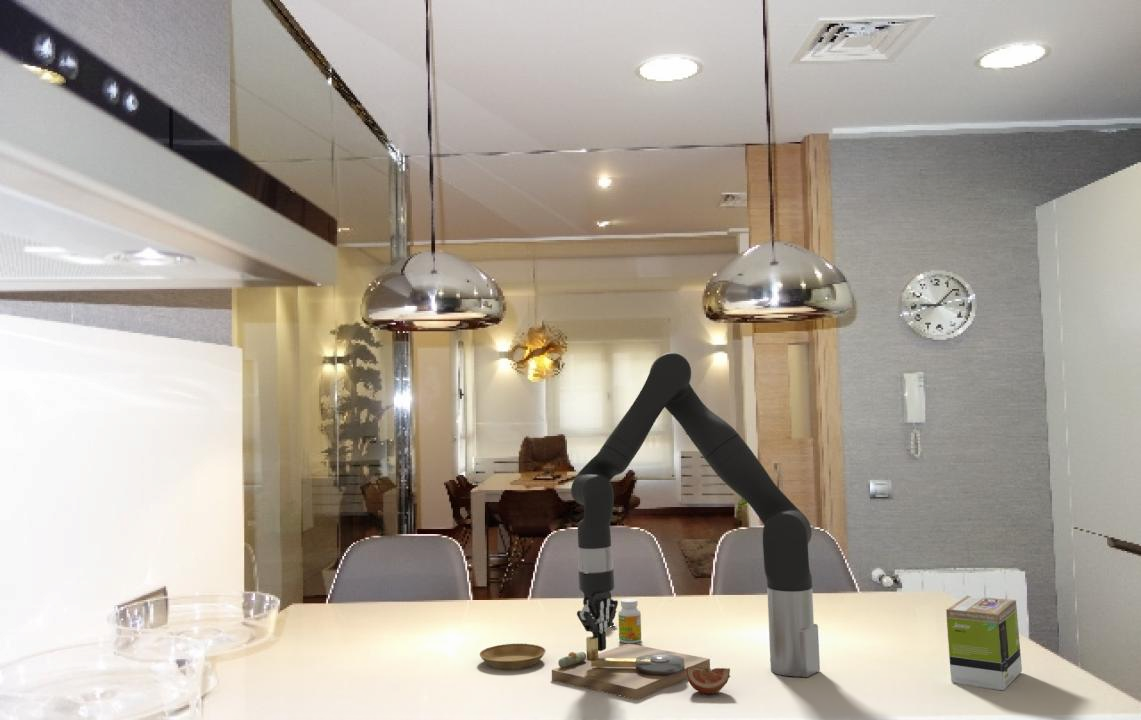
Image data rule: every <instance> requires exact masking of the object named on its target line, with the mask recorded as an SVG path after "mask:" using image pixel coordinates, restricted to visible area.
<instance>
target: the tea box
mask: <svg viewBox="0 0 1141 720" xmlns="http://www.w3.org/2000/svg"><path fill="white" fill-rule="evenodd" d="M945 611H946V627H947V628H946V630H947V641H948V653H949V654H948V655H949V656H948V657H949V669H950V670H949V672H950V681H951V683H953V684H958V685H964V686H968V687H969V686H970V687H976V688H977V687H978V688H983V689H989V690H995V691H1004V690H1005V689H1007V687H1008V686H1009V685H1010V684H1011V683H1012V682H1013V681H1014V680H1015V679H1016V678H1017V677H1018V676H1019V675H1020V674H1021V673H1022V671H1023V666H1022V665H1023V664H1022V655H1021V643H1020V633H1019V620H1018V608H1017V600H1016V599H1006V598H996V597H986V596H985V597H983V596H971V595H966V596H964V597H962V599H960V600H959V601H957V602H956V603H954V604H953V605H951V606H950V607H948V608H947V609H946V610H945Z"/></svg>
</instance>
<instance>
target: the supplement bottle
mask: <svg viewBox="0 0 1141 720" xmlns="http://www.w3.org/2000/svg"><path fill="white" fill-rule="evenodd" d="M638 605H639V604H638V599H636V598H623V599H621V600H620V606H621V608H620V609H619V610H618V638H619V639H618V640H619V642H620V641H621V643H622V642H624V643H623V644H636V643H635V642H638V643H640V642H641V641H642V615H641V610H640V609H639V608H637V607H638ZM639 641H640V642H639Z"/></svg>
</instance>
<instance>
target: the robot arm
mask: <svg viewBox="0 0 1141 720" xmlns="http://www.w3.org/2000/svg"><path fill="white" fill-rule="evenodd" d="M691 379H692V368H691V365H690V363H689V361H688V360H687V359H686V357H684V356H683V355H681V354H679V353H676V352H667V353H664V354H662V355H660V356H658V357H657V358H656V359H655V360H654V362H652V364H651V367H650V370H649V374H648V376H647V378H646V380H645V382H644V384H643V386H642V388H641V390H640V391H639V393H638V395H637V397H636V398H635V400H634V401H633V403H632V404H631V406H630V407H629V409H628V410H627V411H626V413H625V414H624V416H623V417H622V419H621V420H620V421H619V423H618V424H617V425H616V426H615V428H613V430H612V432H611V433H610V434H609V436H608V437H607V439H606V440H605V442H604V443H603V445H602V447H601V448H600V450H599V451H598V453H597V454H596V455H594V456H593V458H591V459H590V460H589V461H588V462H587V463H586V464H585V465H584V466H583V468H581V470H580V471H579V472H578V473H577V474H576V476H575V478H574V479H573V481H572V484H571V488H570V494H571V497H572V499H573V500H574V502H575V503H577V504H579V505H581V506H584V507H583V508H584V509H583V518H582V519H580V521H579V522H578V525H577V544H578V547H577V548H578V552H577V568H578V569H577V571H578V589H579V591H580V592H582V593H583V599H582V600H583V601H582V604H583V607H582V609H581V610H577V611H576V616H577V618H578V620H579V621H580V622H581V625H582V626H583V627H584V630H585V631H586V632H590V633H592V637H598V652H602V651H603V652H604V650H605V651H606V649H607V637H606V635H607V634H606V632H607V631H608V628H607V627H608V626H609V627H610V626H611V625H612V622H613V621H614V619H615V618H614V615H615V616H616V613H617V612H616V611H617V608H618V604H619V600H616V599H613V598H612V597H611V596H612V593H611V591H613V590H614V589H615V573H614V572H615V571H614V556H613V555H614V554H613V549H612V540H611V538H612V536H611V522H612V517H613V512H614V511H613V510H614V502H615V494H614V493H615V492H614V488H613V484H612V482H611V480H612V479H613V478H614V477H615V476H619V475H620V474H623V473H624V472H625V471H626V470H627V468H628V467H629V465H630V464H631V462H632V461H633V459H634V458H635V456H636V455H637V454H638V452H639V451H640V449H641V448H642V446H643V444H644V442H645V440H646V439H647V437H648V435H649V433H650V432H651V430H652V428H653V426H654V424H655V423H656V421H657V419H658V417H659V416H660V414H661V413H662V412H663V410H664V408H665V409H666V410H667V411H668V413H670V415H671V416H672V417H673V418H674V419H675V420H676V421H677V422H678V424H679V425H680V426H681V427H682V429H683V430H684V432H685V434H686V435H687V436H688V438H689V439H690V441H691V442H692V444H694V446H695V447H696V449H697V450H698V451H699V453H700V454H701V455H702V457H703V459H704V460H705V461H706V462H707V464H708V465H709V467H710V468H711V469H712V470H713V472H714V473H715V474H716V475H717V476H718V477H719V479H721V481H722V482H723V483H725V485H727V487H729V489H731V490H733V491H734V492H735V493H736V494H737V495H738V496H740V497H741V498H742V499H743V500H744V501H745V502H747V505H749V506H750V507H751V508H752V510H753V511H754V512H755V514H756V516H758V518H759V519H760V521H761V523H762V524H763V530H762V551H763V567H764V574H765V577H766V584H767V588H766V589H767V591H766V592H767V610H768V611H767V612H768V613H767V614H768V632H769V633H768V634H769V636H768V637H769V639H768V640H769V641H768V642H769V656H770V658H769V661H770V671H771V672H773V674H777V675H781V676H785V677H802V678H803V677H804V678H808V677H810V676H813V675H814V674H817V673H818V672H820V671H821V664H820V661H821V660H820V645H819V644H820V643H819V641H820V640H819V626H818V624H817V623H815V622H814V620H815V619H814V618H815V617H814V600H813V596H814V595H813V576H812V573H811V569H810V563H809V562H810V561H809V560H810V559H809V543H810V541H811V539H812V533H813V532H812V525H811V523H810V521H809V519H808V518H807V516H806V515H804V513H803V512H802V511H801V510H800V509H799V508H798V507H797V506H796V505H795V504H794V503H793V502H792V501H791V500H790V499H789V498H788V496H786V494H784V493H783V491H782V490H781V489H780V488H779V487H778V486H777V485H776V483H775V482H774V481H773V479H772V477H771V476H770V475H769V473H768V472H767V471H766V469H765V467H764V466H763V464H762V463H761V461H759V459H758V458H757V456H756V454H755V453H754V452H753V451H752V449H751V448H750V447H749V446H748V445H749V444H747V443H746V442H745V441H744V439H743V438H742V437H741V435H740V433H738V432H737V430H736V429H735V428H734V427H733V426H732V425H731V424H729V423H728V422H727V421H726V420H724V419H723V418H722V417H720V416H719V415H717V414H715V412H713V411H712V410H711V409H709V408H708V407H707V406H706V404H704V402H703V401H702V400H701V399H700V398H699V395H697V393H696V391H695V390H694V389H693V387H692V385H691V383H690V382H691ZM615 612H616V613H615ZM613 618H614V619H613ZM610 628H611V627H610Z"/></svg>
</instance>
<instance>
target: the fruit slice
mask: <svg viewBox="0 0 1141 720" xmlns="http://www.w3.org/2000/svg"><path fill="white" fill-rule="evenodd" d="M730 672H731V668H727V667H725V668H723V667H722V668H721V667H717V668H713V669H707V668H697V667H687V678H686V679H687V680H688V683H689V685H690V686H691V687H692V688H693V690H695V691H697V692H699V693H702V694H707V695H708V694H710V695H711V694H715V693H718V692H720V691H721V690H722V689H723V688H724V687H725V686H726V684H727V683H728V682H729V678H731V675H730V674H731V673H730Z"/></svg>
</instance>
